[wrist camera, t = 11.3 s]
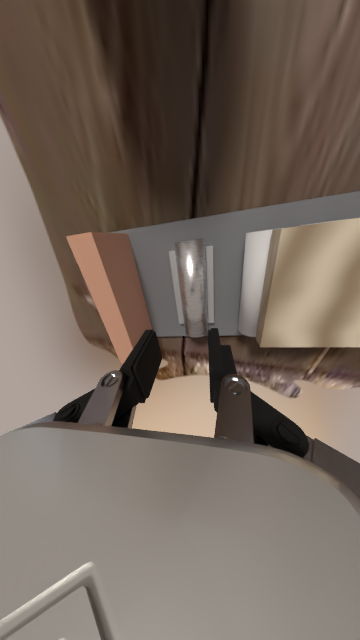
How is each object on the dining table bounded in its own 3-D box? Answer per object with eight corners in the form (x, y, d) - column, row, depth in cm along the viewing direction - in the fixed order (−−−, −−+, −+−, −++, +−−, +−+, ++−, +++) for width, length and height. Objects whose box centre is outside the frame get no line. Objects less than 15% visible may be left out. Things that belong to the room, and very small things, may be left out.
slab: (483, 200, 12) (530, 194, 10) (388, 336, 19) (407, 347, 17) (272, 229, 15) (281, 228, 13) (255, 338, 22) (260, 347, 20)
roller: (204, 238, 20) (205, 238, 17) (207, 324, 27) (208, 337, 23) (176, 242, 21) (171, 243, 17) (186, 325, 28) (184, 337, 24)
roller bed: (423, 181, 15) (635, 127, 8) (346, 330, 24) (410, 372, 17) (105, 233, 22) (55, 232, 15) (137, 334, 31) (116, 365, 24)
